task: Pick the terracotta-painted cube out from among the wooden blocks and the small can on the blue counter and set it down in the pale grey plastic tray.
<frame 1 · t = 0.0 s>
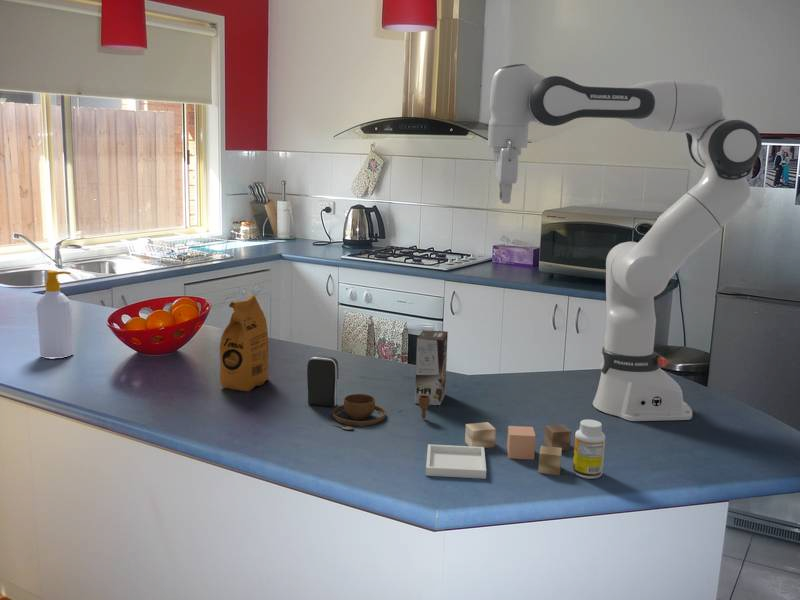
hand: (504, 201, 176), 48 cm above the worktop, tool pointing down, fingers open, 8 cm apart
coffee box: (430, 399, 187), on the worktop
beech block: (479, 444, 160), on the worktop
supplement bottle: (587, 474, 147), on the worktop
oak block: (549, 470, 149), on the worktop
tray: (455, 464, 150), on the worktop
soap bottle: (58, 356, 215), on the worktop
walnut block: (557, 446, 160), on the worktop
battery charger: (323, 404, 182), on the worktop
terracotta block: (520, 454, 156), on the worktop
coffee package: (244, 384, 195), on the worktop
place setting: (374, 423, 172), on the worktop
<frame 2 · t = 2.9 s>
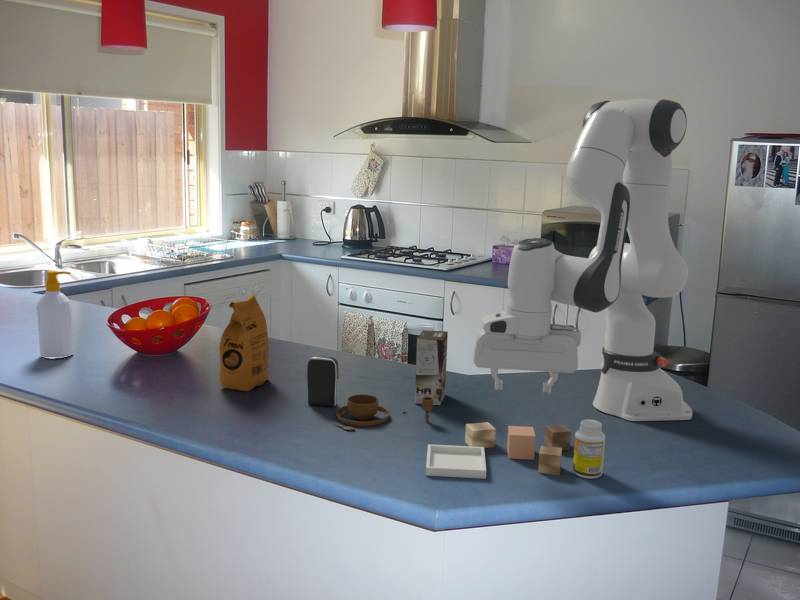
hand: (522, 390, 153), 13 cm above the worktop, tool pointing down, fingers open, 8 cm apart
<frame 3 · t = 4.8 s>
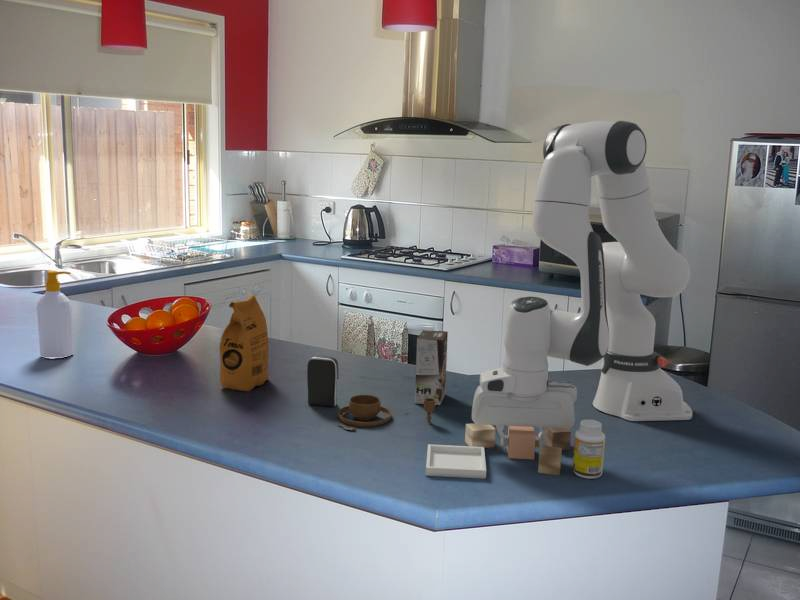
hand: (520, 445, 156), 2 cm above the worktop, tool pointing down, fingers closed on terracotta block, 5 cm apart
terracotta block: (520, 453, 156), on the worktop, touching gripper
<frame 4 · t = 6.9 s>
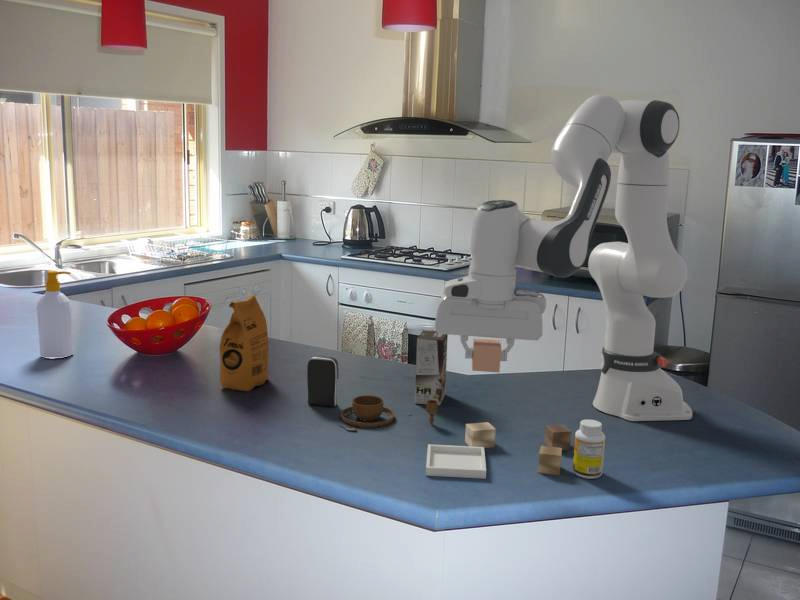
hand: (485, 359, 147), 21 cm above the worktop, tool pointing down, fingers closed on terracotta block, 5 cm apart
terracotta block: (485, 368, 148), point 19 cm above the worktop, touching gripper
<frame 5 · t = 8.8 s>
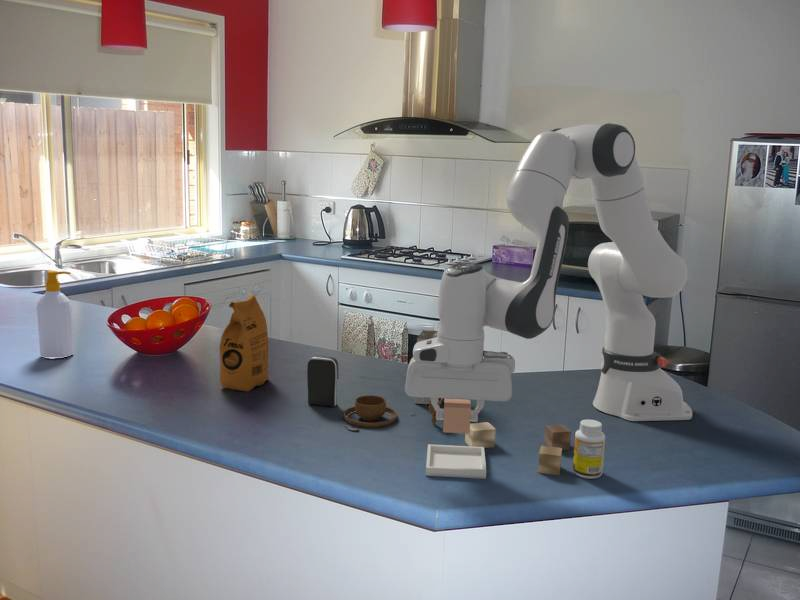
hand: (456, 419, 148), 9 cm above the worktop, tool pointing down, fingers closed on terracotta block, 5 cm apart
terracotta block: (456, 428, 148), point 8 cm above the worktop, touching gripper
when the fingers open (4 cm above the worktop, at t = 10.5 s): terracotta block drops 1 cm, resting on tray.
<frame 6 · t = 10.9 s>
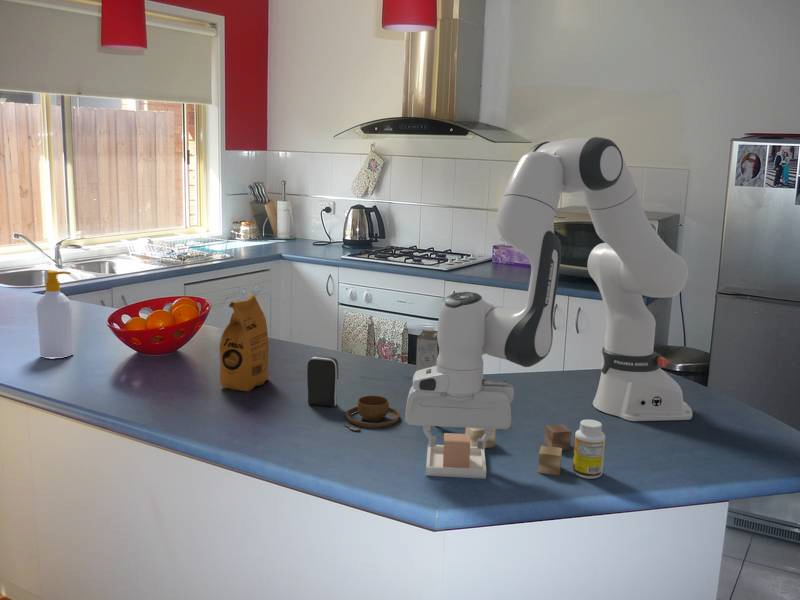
hand: (456, 447, 149), 4 cm above the worktop, tool pointing down, fingers open, 8 cm apart
terracotta block: (456, 462, 150), resting on tray
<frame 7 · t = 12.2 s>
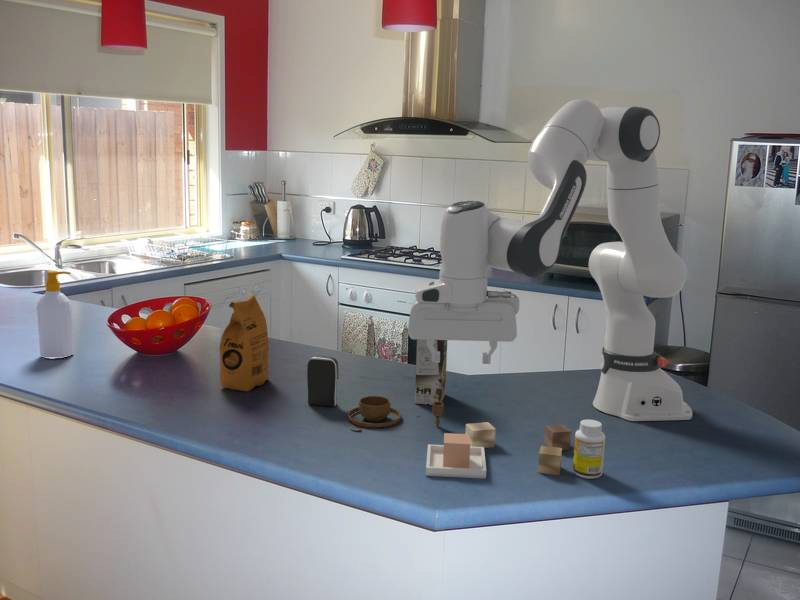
hand: (461, 362, 146), 21 cm above the worktop, tool pointing down, fingers open, 8 cm apart
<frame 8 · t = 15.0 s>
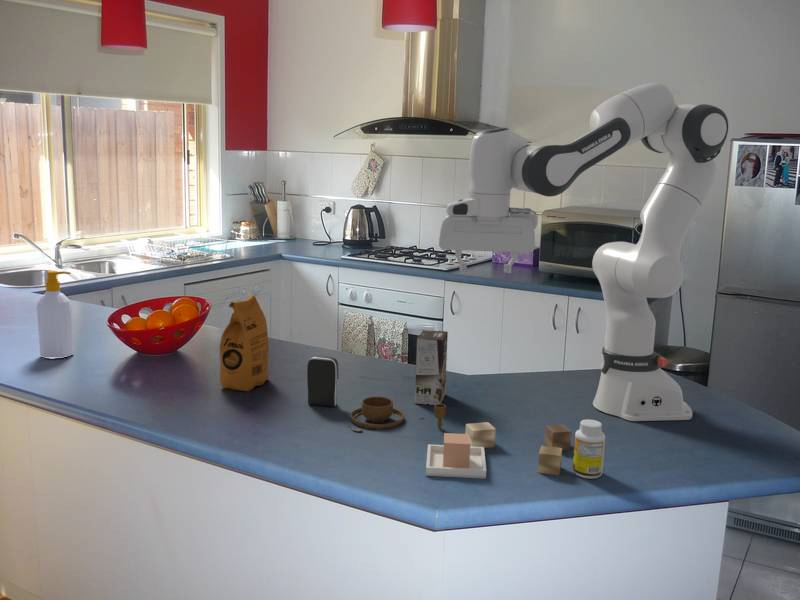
hand: (485, 272, 165), 34 cm above the worktop, tool pointing down, fingers open, 8 cm apart
at the end: terracotta block inside the target area on the tray (0.0 cm from its centre), point 0.4 cm above the tray's base; terracotta block tilted 0°; the gripper is holding nothing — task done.
